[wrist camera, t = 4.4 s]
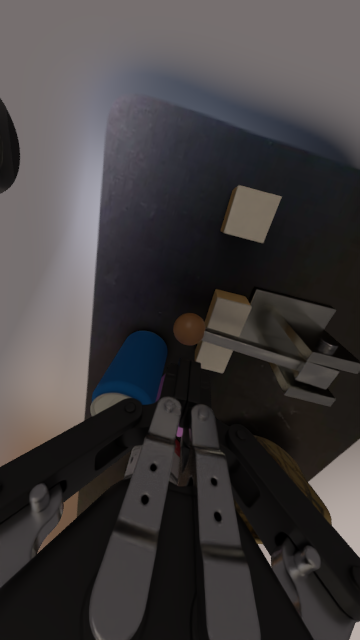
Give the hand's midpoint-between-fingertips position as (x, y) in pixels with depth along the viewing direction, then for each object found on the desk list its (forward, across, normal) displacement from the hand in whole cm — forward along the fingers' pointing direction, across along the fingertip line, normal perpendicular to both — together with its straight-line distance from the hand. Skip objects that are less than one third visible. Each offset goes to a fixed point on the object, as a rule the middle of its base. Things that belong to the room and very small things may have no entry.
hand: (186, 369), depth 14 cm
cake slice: (+14, -3, -11) cm, 18 cm away
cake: (+14, -4, +3) cm, 15 cm away
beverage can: (+14, +5, +9) cm, 17 cm away
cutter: (+14, -12, 0) cm, 18 cm away
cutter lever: (+7, -6, 0) cm, 9 cm away
